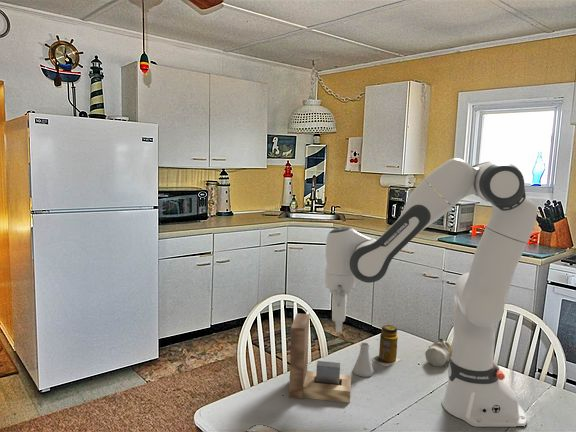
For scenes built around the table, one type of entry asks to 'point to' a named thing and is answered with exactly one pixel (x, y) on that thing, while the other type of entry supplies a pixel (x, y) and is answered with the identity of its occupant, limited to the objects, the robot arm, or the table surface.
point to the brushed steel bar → (328, 372)
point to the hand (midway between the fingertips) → (339, 325)
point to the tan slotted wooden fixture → (306, 380)
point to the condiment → (387, 346)
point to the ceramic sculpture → (438, 353)
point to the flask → (363, 362)
